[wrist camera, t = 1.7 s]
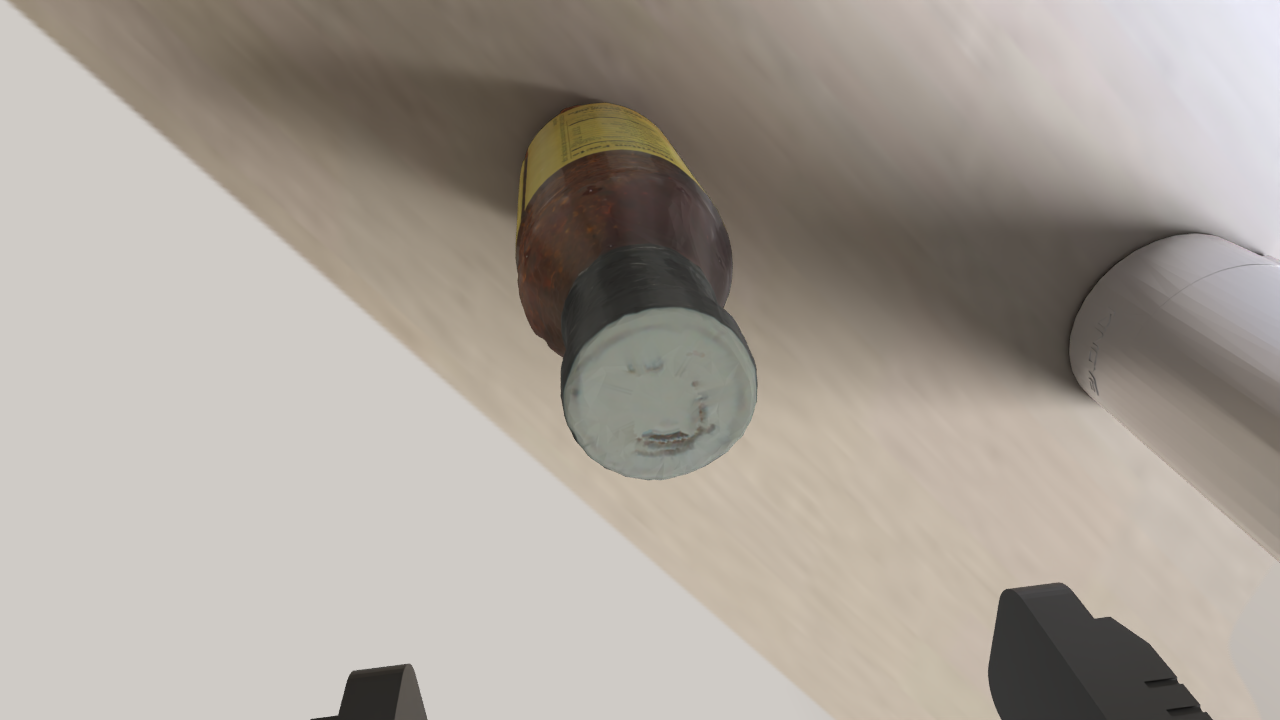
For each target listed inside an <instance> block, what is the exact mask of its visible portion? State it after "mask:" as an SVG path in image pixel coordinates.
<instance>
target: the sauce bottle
mask: <svg viewBox="0 0 1280 720" xmlns="http://www.w3.org/2000/svg"><path fill="white" fill-rule="evenodd" d="M516 265H517V272H518V287H519V295H520V299H521V303H522V306H523V308H524V311H525V314H526V317H527V319H528V322H529V324H530V326H531V328H532V329H533V331H534V332H535V334H536V335H538V336H539V337H541V338H543V339H544V340H545V341H546V342H547V344H548V346H549V347H550V349H552V350H553V351H554V352H556V353H557V354H559V355H560V356H561V357H563V361H562V366H561V399H562V405H563V410H564V416H565V419H566V422H567V425H568V427H569V429H570V430H571V432H572V435H573V437H574V439H575V440H576V442H577V443H578V444H579V445H580V446H581V447H582V448H583V449H584V451H585V452H586V454H587V455H588V456H589V457H590V458H592V459H593V460H595V461H596V462H597V463H599V464H600V465H602V466H603V467H604V468H606V469H609V470H612V471H614V472H617V473H619V474H621V475H623V476H625V477H632V478H638V479H645V480H653V479H655V480H664V479H669V478H673V477H677V476H680V475H684V474H688V473H690V472H693V471H695V470H697V469H699V468H702V467H704V466H706V465H708V464H709V463H711V462H712V461H714V460H716V459H717V458H719V457H720V456H722V455H723V454H725V453H726V452H728V450H729V449H730V448H731V447H732V446H733V444H734V443H735V442H736V441H737V440H738V439H740V438H741V437H742V436H743V434H744V432H745V430H746V428H747V426H748V425H749V423H750V421H751V419H752V415H753V412H754V408H755V405H756V401H757V375H756V371H757V369H756V365H755V361H754V358H753V356H752V354H751V352H750V350H749V347H748V345H747V342H746V340H745V338H744V336H743V335H742V333H741V330H740V328H739V327H738V325H737V323H736V322H735V320H734V318H733V317H732V316H731V315H730V314H729V313H728V312H726V311H725V310H724V309H723V307H724V305H725V303H726V300H727V298H728V295H729V291H730V287H731V281H732V269H733V262H732V250H731V245H730V241H729V237H728V233H727V231H726V228H725V225H724V223H723V221H722V219H721V217H720V215H719V212H718V210H717V209H716V207H715V206H714V204H713V203H712V201H711V200H710V198H709V197H708V195H707V194H706V193H705V191H704V190H703V189H702V187H701V186H700V185H699V183H698V182H697V181H696V179H695V178H694V177H693V175H692V174H691V172H690V171H689V170H688V168H687V167H686V165H685V164H684V163H683V161H682V160H681V158H680V157H679V156H678V154H677V153H676V151H675V150H674V148H673V147H672V145H671V144H670V143H669V141H668V140H667V138H666V137H665V136H664V135H663V133H662V132H661V131H660V130H659V128H657V127H656V126H655V125H654V124H653V123H652V122H651V121H649V120H648V119H647V118H645V117H644V116H642V115H640V114H639V113H637V112H635V111H633V110H631V109H628V108H626V107H623V106H619V105H615V104H610V103H595V104H587V105H576V106H572V107H569V108H565V109H563V110H562V111H561V113H560V114H559V115H557V116H556V117H555V118H553V119H552V120H550V121H549V122H548V123H547V124H546V125H545V126H544V127H543V128H542V129H541V130H540V131H539V132H538V134H537V135H536V136H535V138H534V139H533V141H532V142H531V144H530V145H529V148H528V149H527V153H526V156H525V159H524V161H523V164H522V168H521V174H520V183H519V195H518V213H517V231H516Z"/></svg>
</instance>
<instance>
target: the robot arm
mask: <svg viewBox="0 0 1280 720" xmlns="http://www.w3.org/2000/svg"><path fill="white" fill-rule="evenodd" d="M1069 356H1070V362H1071V367H1072V371H1073V373H1074V375H1075V377H1076V379H1077V381H1078V384H1079V385H1080V386H1081V387H1082V388H1083V389H1084V390H1085V392H1086V393H1087V394H1088V395H1089V396H1090V397H1091V398H1093V399H1094V400H1095V401H1096V402H1097V403H1098V404H1099V405H1101V406H1102V407H1103V408H1104V409H1105V410H1106V411H1107V412H1109V413H1110V414H1111V415H1112V416H1113V417H1114V418H1115V419H1117V420H1118V421H1119V422H1120V423H1121V424H1122V425H1123V426H1125V427H1126V428H1127V429H1128V430H1129V431H1130V432H1131V433H1132V434H1133V435H1134V436H1135V437H1137V438H1138V439H1139V440H1140V441H1141V442H1142V443H1143V444H1144V445H1146V446H1147V447H1148V448H1149V449H1150V450H1151V451H1153V452H1154V453H1155V454H1156V455H1157V456H1158V457H1159V458H1161V459H1162V460H1163V461H1164V462H1165V463H1166V464H1167V465H1169V466H1170V467H1171V468H1172V469H1173V470H1174V471H1175V472H1177V473H1178V474H1179V475H1180V476H1181V477H1182V478H1183V479H1185V480H1186V481H1187V482H1188V483H1189V484H1190V485H1191V486H1193V487H1194V488H1195V489H1196V490H1197V491H1198V492H1199V493H1201V494H1202V495H1203V496H1204V497H1205V498H1206V499H1207V500H1209V501H1210V502H1211V503H1212V504H1213V505H1214V506H1215V507H1217V508H1218V509H1219V510H1220V511H1221V512H1222V513H1223V514H1225V515H1226V516H1227V517H1228V518H1229V519H1230V520H1231V521H1233V522H1234V523H1235V524H1236V525H1237V526H1238V527H1239V528H1241V529H1242V530H1243V531H1244V532H1245V533H1246V534H1247V535H1249V536H1250V537H1251V538H1252V539H1253V540H1254V541H1256V542H1257V543H1258V544H1259V545H1260V546H1261V547H1262V548H1264V549H1265V550H1266V551H1267V552H1268V553H1269V554H1270V555H1272V556H1273V557H1274V558H1275V559H1276V560H1277V561H1278V562H1280V260H1278V259H1276V258H1274V257H1271V256H1260V255H1258V254H1256V253H1254V252H1252V251H1249V250H1247V249H1245V248H1243V247H1241V246H1239V245H1237V244H1234V243H1232V242H1230V241H1227V240H1225V239H1222V238H1220V237H1217V236H1214V235H1206V234H1198V233H1194V234H1184V235H1175V236H1172V237H1168V238H1165V239H1161V240H1158V241H1155V242H1153V243H1151V244H1149V245H1146V246H1144V247H1142V248H1140V249H1138V250H1136V251H1134V252H1133V253H1131V254H1130V255H1129V256H1127V257H1126V258H1124V259H1123V260H1121V261H1120V262H1119V263H1117V264H1116V265H1115V266H1114V267H1113V268H1111V269H1110V270H1109V271H1108V272H1107V273H1106V274H1105V275H1104V276H1103V277H1102V278H1101V279H1100V280H1099V281H1098V282H1097V284H1096V285H1095V286H1094V288H1093V289H1092V290H1091V292H1090V293H1089V294H1088V296H1087V297H1086V299H1085V300H1084V302H1083V304H1082V306H1081V308H1080V310H1079V312H1078V314H1077V316H1076V318H1075V322H1074V325H1073V329H1072V332H1071V336H1070V348H1069ZM988 678H989V686H990V691H991V695H992V698H993V701H994V704H995V707H996V709H997V712H998V714H999V716H1000V718H1001V719H1002V720H1213V719H1212V718H1211V717H1210V716H1209V715H1208V713H1207V712H1202V710H1201V708H1200V704H1199V703H1198V702H1197V700H1196V699H1195V698H1194V697H1193V696H1192V694H1191V693H1190V692H1189V691H1188V690H1187V688H1186V687H1185V686H1184V685H1183V684H1179V683H1178V681H1177V676H1176V675H1175V674H1174V673H1173V672H1172V670H1171V669H1170V668H1169V667H1168V666H1167V664H1166V663H1165V662H1164V661H1163V660H1162V658H1161V657H1160V656H1159V655H1158V654H1157V652H1156V651H1155V650H1154V649H1153V648H1152V646H1151V645H1150V644H1149V643H1147V642H1146V641H1145V640H1143V639H1142V638H1140V637H1139V636H1137V635H1136V634H1134V633H1133V632H1132V631H1130V630H1129V629H1127V628H1126V627H1124V626H1123V625H1121V624H1120V623H1118V622H1117V621H1116V620H1114V619H1113V618H1111V617H1105V618H1097V619H1094V618H1093V617H1092V615H1091V614H1090V613H1089V611H1088V610H1087V609H1086V608H1085V606H1084V605H1083V604H1082V603H1081V601H1080V600H1079V599H1078V597H1077V596H1076V595H1075V594H1074V592H1073V591H1072V590H1071V589H1070V588H1069V587H1068V586H1066V585H1065V584H1063V583H1051V584H1043V585H1036V586H1028V587H1020V588H1012V589H1006V590H1004V591H1003V592H1002V594H1001V596H1000V600H999V605H998V611H997V617H996V623H995V629H994V636H993V642H992V648H991V654H990V660H989V667H988ZM311 720H427V716H426V712H425V708H424V705H423V701H422V697H421V694H420V690H419V686H418V682H417V679H416V676H415V672H414V669H413V667H412V665H411V664H404V665H395V666H387V667H379V668H372V669H364V670H357V671H353V672H351V674H350V675H349V677H348V680H347V683H346V687H345V691H344V695H343V699H342V703H341V707H340V710H339V714H338V716H331V717H323V718H316V719H311Z"/></svg>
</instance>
